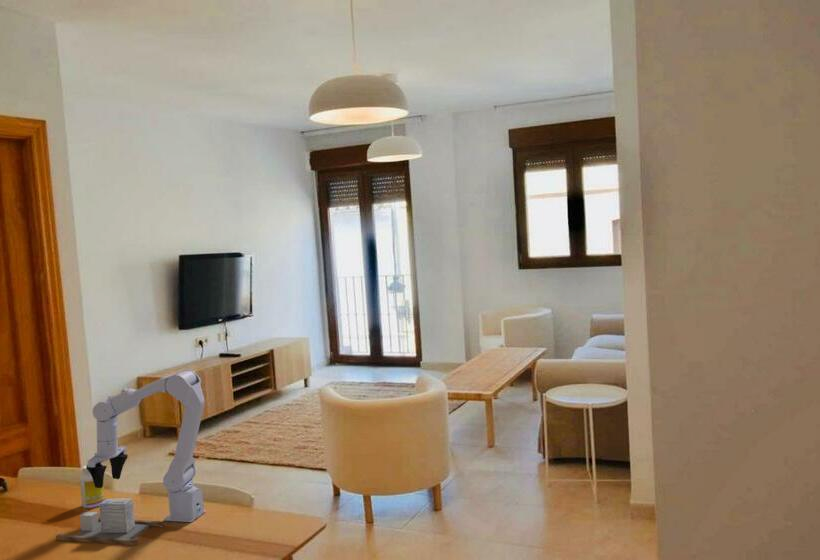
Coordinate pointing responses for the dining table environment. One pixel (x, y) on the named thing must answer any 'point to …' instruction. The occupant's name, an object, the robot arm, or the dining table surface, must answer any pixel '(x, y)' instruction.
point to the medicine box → (117, 515)
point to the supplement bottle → (90, 491)
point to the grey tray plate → (93, 528)
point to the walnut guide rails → (105, 539)
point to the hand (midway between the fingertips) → (107, 482)
